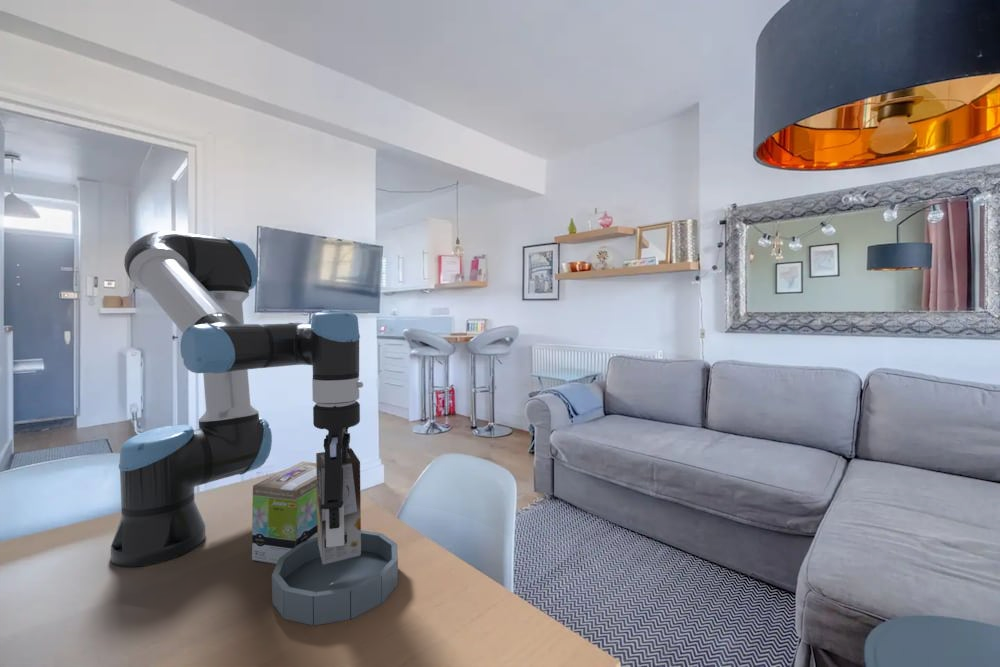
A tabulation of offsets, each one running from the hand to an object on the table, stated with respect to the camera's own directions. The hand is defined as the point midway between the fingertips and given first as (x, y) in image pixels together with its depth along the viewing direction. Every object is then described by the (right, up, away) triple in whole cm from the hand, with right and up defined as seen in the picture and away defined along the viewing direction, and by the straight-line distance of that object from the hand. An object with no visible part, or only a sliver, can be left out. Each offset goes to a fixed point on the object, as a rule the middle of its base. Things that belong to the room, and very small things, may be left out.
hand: (338, 529), depth 77 cm
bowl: (0, -10, 0) cm, 10 cm away
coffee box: (0, -3, 0) cm, 3 cm away
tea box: (-13, -9, +14) cm, 21 cm away
